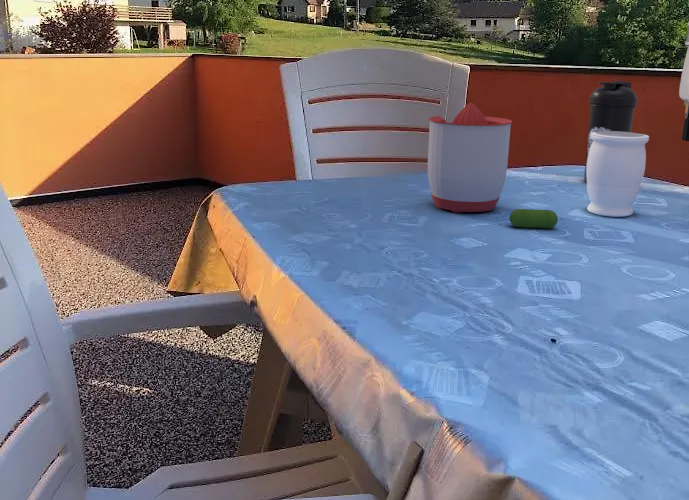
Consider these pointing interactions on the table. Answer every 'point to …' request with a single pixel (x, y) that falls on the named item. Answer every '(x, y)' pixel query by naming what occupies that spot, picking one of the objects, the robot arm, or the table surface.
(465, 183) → the citrus juicer
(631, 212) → the jar
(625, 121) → the water bottle
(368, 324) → the table surface
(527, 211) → the pickle
